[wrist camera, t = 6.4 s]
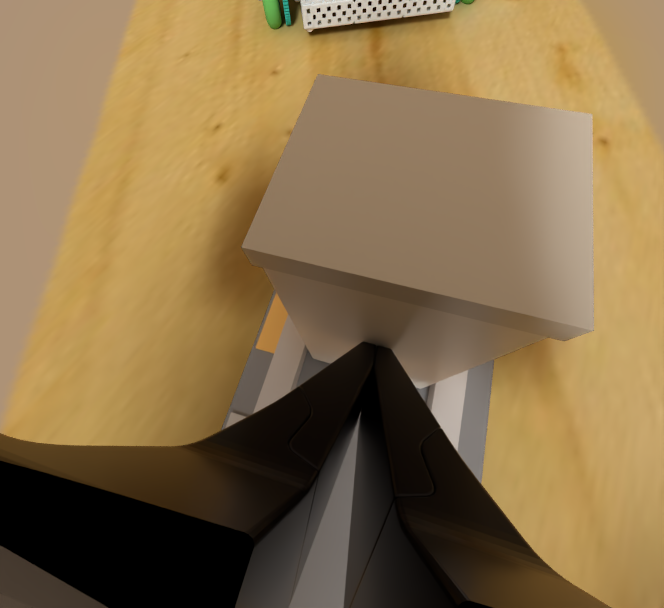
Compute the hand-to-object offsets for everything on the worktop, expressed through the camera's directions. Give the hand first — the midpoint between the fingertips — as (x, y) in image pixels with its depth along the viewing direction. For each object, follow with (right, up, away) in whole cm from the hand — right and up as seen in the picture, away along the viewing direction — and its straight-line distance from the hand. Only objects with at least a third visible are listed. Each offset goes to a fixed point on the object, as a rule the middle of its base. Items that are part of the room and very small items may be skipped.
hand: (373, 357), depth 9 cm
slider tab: (+1, 0, +5) cm, 6 cm away
